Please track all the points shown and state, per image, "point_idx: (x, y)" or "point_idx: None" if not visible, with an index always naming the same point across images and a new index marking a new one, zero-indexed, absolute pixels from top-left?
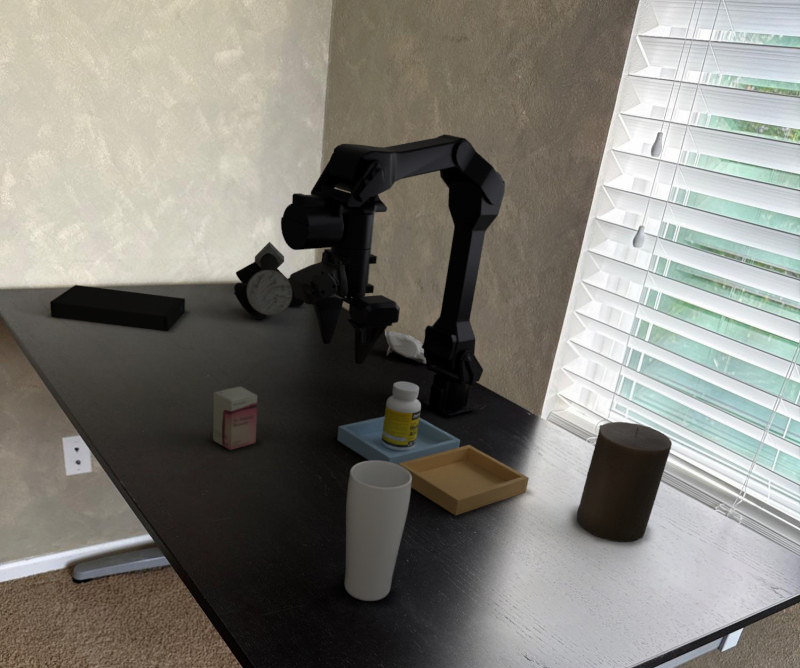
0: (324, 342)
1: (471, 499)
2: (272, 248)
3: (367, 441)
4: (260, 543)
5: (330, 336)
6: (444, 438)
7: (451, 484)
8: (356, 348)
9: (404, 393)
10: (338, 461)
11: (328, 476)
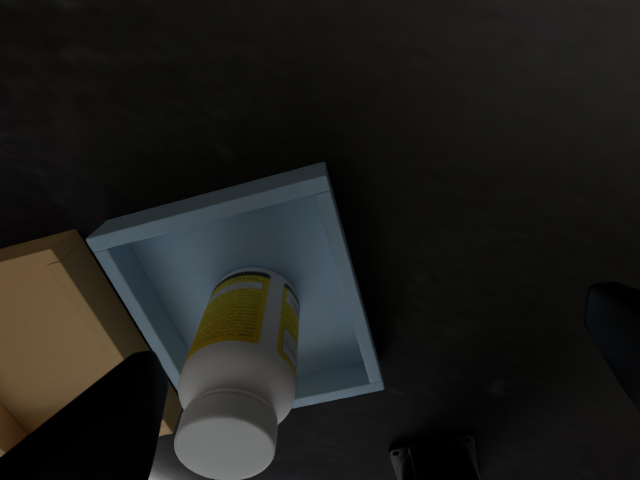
0: (598, 290)
1: None
2: None
3: (201, 220)
4: None
5: (620, 361)
6: None
7: (33, 330)
8: (34, 445)
9: (181, 422)
10: (182, 110)
11: (76, 36)
